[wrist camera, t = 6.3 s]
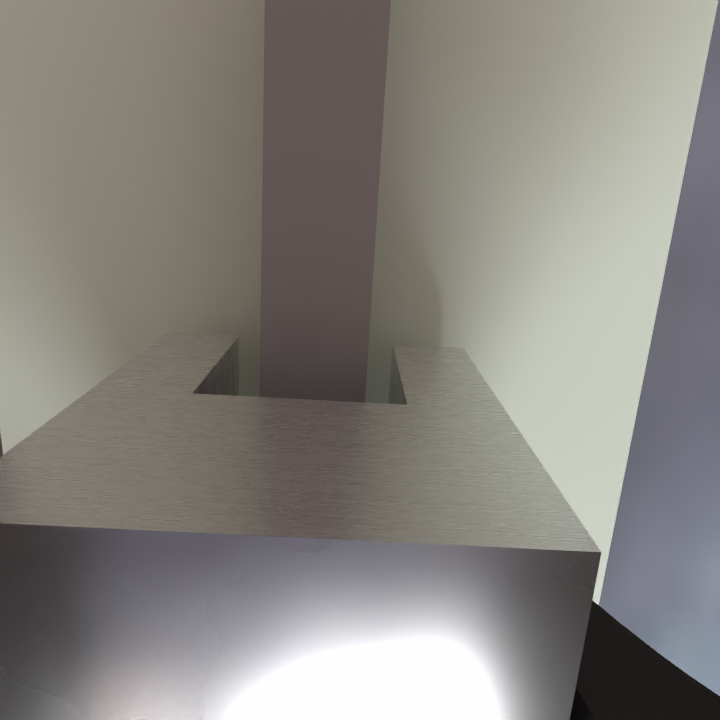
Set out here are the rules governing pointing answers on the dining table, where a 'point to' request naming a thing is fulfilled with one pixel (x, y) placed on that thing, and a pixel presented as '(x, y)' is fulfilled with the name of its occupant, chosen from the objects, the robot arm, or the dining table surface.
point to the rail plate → (458, 206)
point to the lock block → (287, 552)
